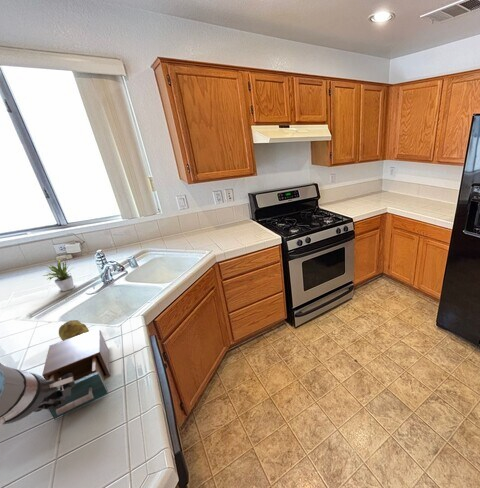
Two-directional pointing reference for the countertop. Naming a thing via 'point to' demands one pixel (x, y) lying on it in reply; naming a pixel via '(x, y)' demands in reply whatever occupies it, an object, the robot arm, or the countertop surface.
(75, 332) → the potato
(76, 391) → the drawer
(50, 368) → the cabinet
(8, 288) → the countertop surface
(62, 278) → the house plant
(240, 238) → the countertop surface
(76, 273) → the countertop surface
